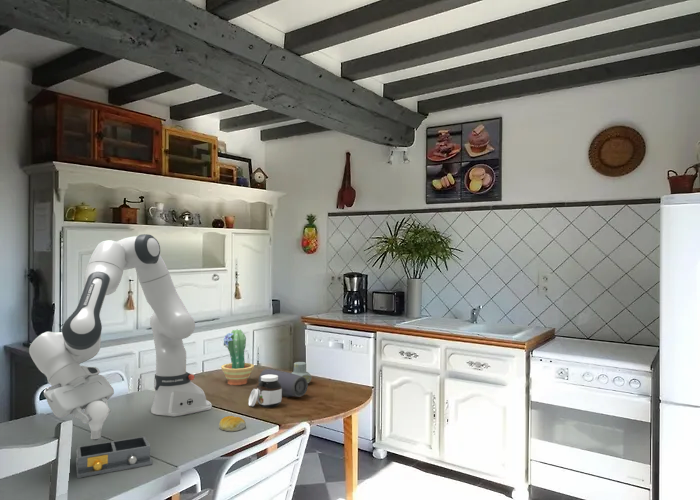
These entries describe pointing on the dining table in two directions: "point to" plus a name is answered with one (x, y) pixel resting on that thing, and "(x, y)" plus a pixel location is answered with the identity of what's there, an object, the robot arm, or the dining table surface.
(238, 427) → the bread roll
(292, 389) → the bluetooth speaker
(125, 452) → the grey rectangular box
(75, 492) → the dining table surface
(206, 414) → the dining table surface
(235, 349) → the potted cactus
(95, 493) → the dining table surface
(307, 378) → the air freshener
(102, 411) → the lightbulb
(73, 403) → the robot arm
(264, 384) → the spread jar
